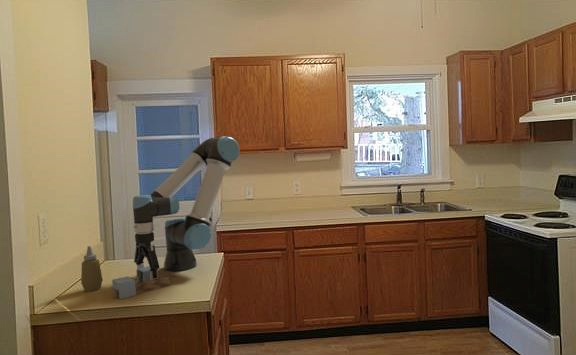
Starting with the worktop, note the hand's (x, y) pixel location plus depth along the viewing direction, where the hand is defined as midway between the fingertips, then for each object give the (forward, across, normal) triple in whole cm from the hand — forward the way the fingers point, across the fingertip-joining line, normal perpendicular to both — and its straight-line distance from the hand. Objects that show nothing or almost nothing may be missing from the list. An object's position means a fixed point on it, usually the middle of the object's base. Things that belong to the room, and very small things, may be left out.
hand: (147, 282), depth 193 cm
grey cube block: (0, 0, 0) cm, 0 cm away
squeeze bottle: (0, -8, -20) cm, 21 cm away
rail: (0, +11, -7) cm, 13 cm away
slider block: (0, +11, -14) cm, 18 cm away
